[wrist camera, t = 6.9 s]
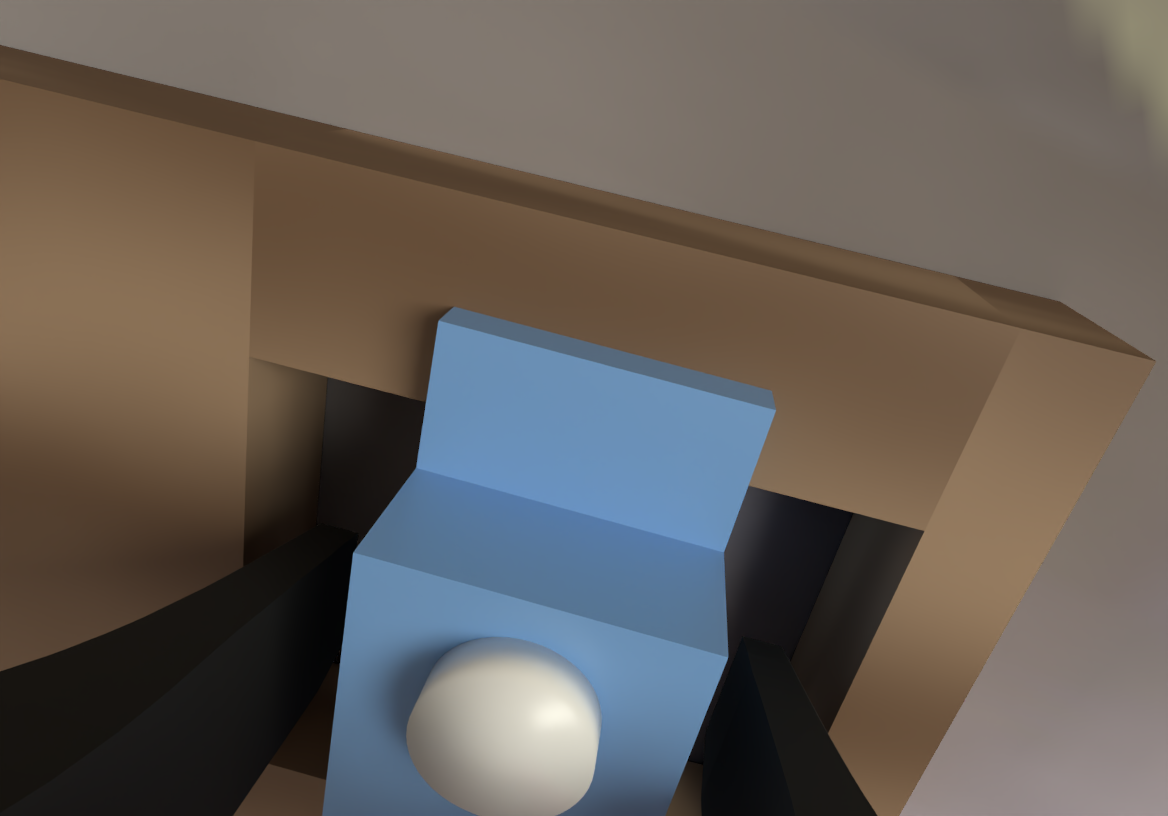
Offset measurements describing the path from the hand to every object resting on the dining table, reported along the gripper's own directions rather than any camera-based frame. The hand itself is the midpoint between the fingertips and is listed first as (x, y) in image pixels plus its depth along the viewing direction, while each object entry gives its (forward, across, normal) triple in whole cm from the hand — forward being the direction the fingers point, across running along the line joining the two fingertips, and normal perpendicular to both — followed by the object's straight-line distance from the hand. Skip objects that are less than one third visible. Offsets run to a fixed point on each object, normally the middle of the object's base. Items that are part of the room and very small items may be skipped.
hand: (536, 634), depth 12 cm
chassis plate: (+2, +4, 0) cm, 4 cm away
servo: (+2, 0, 0) cm, 2 cm away
